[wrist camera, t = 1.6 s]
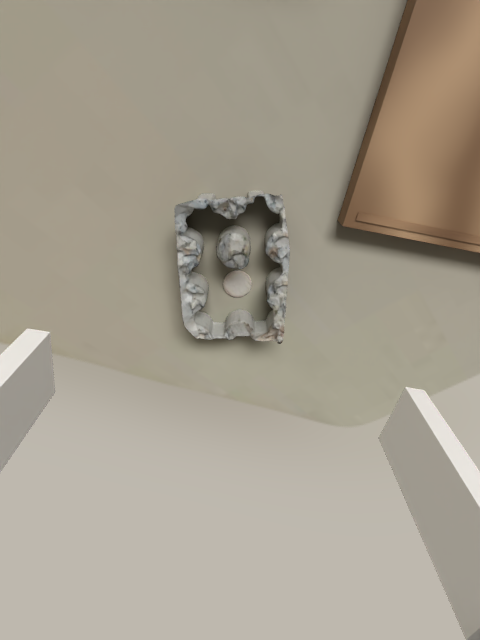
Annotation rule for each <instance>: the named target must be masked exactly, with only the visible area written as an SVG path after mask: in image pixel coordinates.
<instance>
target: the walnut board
mask: <svg viewBox="0 0 480 640" xmlns="http://www.w3.org/2000/svg"><path fill="white" fill-rule="evenodd" d="M338 222H339V223H340V224H341V225H342V226H345V227H351V228H356V229H361V230H366V231H371V232H376V233H381V234H386V235H391V236H397V237H402V238H407V239H412V240H417V241H422V242H427V243H432V244H437V245H442V246H448V247H453V248H458V249H463V250H468V251H473V252H478V253H480V0H408V1H407V4H406V7H405V10H404V13H403V16H402V20H401V23H400V26H399V29H398V32H397V35H396V38H395V42H394V45H393V48H392V51H391V54H390V57H389V60H388V64H387V67H386V70H385V73H384V76H383V79H382V82H381V86H380V89H379V92H378V95H377V98H376V101H375V104H374V108H373V111H372V114H371V117H370V120H369V123H368V126H367V130H366V133H365V136H364V139H363V142H362V145H361V148H360V152H359V155H358V158H357V161H356V164H355V167H354V170H353V174H352V177H351V180H350V183H349V186H348V189H347V192H346V195H345V199H344V202H343V205H342V208H341V211H340V214H339V217H338Z"/></svg>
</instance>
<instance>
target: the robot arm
mask: <svg viewBox="0 0 480 640" xmlns="http://www.w3.org/2000/svg"><path fill="white" fill-rule="evenodd" d="M54 393H55V385H54V372H53V361H52V348H51V336H50V332H46V331H40V330H33V329H26V330H25V331H24V332H23V333H22V334H21V335H20V336H19V337H18V338H17V339H16V340H15V341H14V342H13V343H12V344H11V345H10V346H9V347H8V348H7V349H6V350H5V351H4V352H3V353H2V354H1V355H0V472H1V471H2V469H3V468H4V466H5V465H6V463H7V462H8V460H9V459H10V458H11V456H12V455H13V453H14V452H15V450H16V449H17V447H18V446H19V444H20V443H21V441H22V440H23V439H24V437H25V436H26V434H27V433H28V431H29V430H30V428H31V427H32V425H33V424H34V423H35V421H36V420H37V418H38V417H39V415H40V414H41V412H42V411H43V409H44V408H45V406H46V405H47V404H48V402H49V401H50V399H51V398H52V396H53V395H54ZM379 440H380V442H381V445H382V447H383V450H384V452H385V454H386V457H387V459H388V461H389V463H390V465H391V468H392V470H393V472H394V475H395V477H396V479H397V482H398V484H399V486H400V489H401V491H402V493H403V496H404V498H405V500H406V503H407V505H408V507H409V509H410V512H411V514H412V516H413V519H414V521H415V523H416V526H417V528H418V530H419V533H420V535H421V537H422V539H423V542H424V544H425V546H426V548H427V551H428V553H429V556H430V558H431V560H432V562H433V565H434V567H435V569H436V572H437V574H438V576H439V578H440V581H441V583H442V585H443V588H444V590H445V592H446V595H447V597H448V599H449V602H450V604H451V606H452V609H453V611H454V613H455V615H456V618H457V620H458V622H459V625H460V627H461V629H462V632H463V634H464V636H465V638H466V640H480V471H479V470H478V468H477V467H476V465H475V464H474V463H473V461H472V460H471V458H470V457H469V455H468V454H467V452H466V451H465V449H464V448H463V446H462V445H461V443H460V442H459V441H458V439H457V438H456V436H455V435H454V433H453V432H452V430H451V429H450V428H449V426H448V424H447V423H446V421H445V420H444V419H443V417H442V416H441V414H440V413H439V411H438V410H437V408H436V407H435V405H434V404H433V402H432V401H431V399H430V398H429V397H428V395H427V394H426V392H425V391H424V390H420V389H414V388H407V387H405V389H404V391H403V392H402V394H401V396H400V398H399V400H398V402H397V404H396V406H395V408H394V409H393V411H392V413H391V415H390V417H389V419H388V421H387V423H386V425H385V427H384V429H383V430H382V432H381V434H380V436H379Z"/></svg>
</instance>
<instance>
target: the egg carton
mask: <svg viewBox="0 0 480 640" xmlns="http://www.w3.org/2000/svg"><path fill="white" fill-rule="evenodd" d="M256 196H263V197H264V198H265V201H266V204H267V206H268V208H269V209H270V210H271V211H272V212H274V213H276V214H279V216H280V222H279V223H276V224H274V225H272V226H271V227H270V228H269V229H268V230H267V231H266V235H265V247H266V255H268V256H269V257H270V258H271V259H272V260H273V261H275V262H277V263H280V267H279V268H276V269H274V270H272V271H271V272H270V273H269V275H268V276H267V278H266V288H267V296H268V297H267V302H268V304H269V305H270V307H271V308H273V310H272V311H270V313H269V314H268V316H267V319H266V320H265V321H254V319H253V317H252V315H251V314H250V313H249V312H248V311H246V310H242V309H239V310H235V311H232V312H230V313H229V314H228V316H227V318H226V322H224V323H221V322H213V320H212V318H211V317H210V316H209V315H208V314H207V313H204V312H200V311H199V310H200V309H202V308H203V307H204V306H205V303H206V300H207V295H208V289H209V285H208V282H207V280H206V278H205V277H204V276H203V275H201V274H199V273H196V272H192V268H194V267H195V266H196V267H197V265H198V264H199V262H200V258H201V255H202V252H203V249H204V240H203V237H202V235H201V234H200V233H199V232H198V231H196V230H195V229H193V228H189V227H187V224H186V218H187V217H188V216H190V215H191V214H192V212H193V210H194V209H205V208H206V207H207V206H208V205H210V207H211V209H212V211H213V212H214V213H218V214H221V215H223V216H224V217H225V218H227V219H236V218H237V216H238V215H239V214H240V213H243V212H244V211H245V209H246V206H247V204H251V203H254V199H255V197H256ZM175 231H176V238H177V251H178V273H179V281H180V292H181V306H182V316H183V322H184V326H185V327H186V329H187V330H188V331H189V332H190V333H191V334H192V335H193V336H194V337H195V338H197V339H209V340H212V339H214V338H226V339H228V340H231V339H234V338H235V336H251V338H252V339H253V340H256V341H278V342H277V343H279V344H281V343H282V341H283V336H284V323H285V312H286V296H287V284H288V269H289V256H290V248H289V239H288V231H287V224H286V217H285V207H284V205H283V198H282V195H279V196H273V195H271V194H264V193H263V191H250V192H248V195H247V198H246V197H240V196H239V197H233V198H231V199H227V198H221V199H216V198H215V195H214V194H212V193H209V194H200V195H199V196H198V198H197V199H196V200H193V201H188V202H185V203H182V204H178V205H176V207H175ZM216 250H217V257H218V258H219V259H220V261H221V262H222V263H223V264H224V265H225V266H226V267H229V268H238V269H243V268H245V267H246V266H247V264H248V262H249V255H250V251H251V246H250V237H249V234H248V233H247V231H246V230H245V229H244V228H242V227H241V226H237V225H233V226H229V227H227V228H225V229H224V230H223V231H222V232H221V233H220V236H219V239H218V243H217V246H216ZM251 286H252V282H251V278H250V276H249V275H248V274H247V273H245V272H244V271H241V270H234V271H231V272H230V273H228V274H227V275H226V276H225V278H224V281H223V288H224V290H225V292H226V293H227V294H229V295H230V296H232V297H243V296H244V295H246V294H247V293H248V292H249V291H250V290H251Z"/></svg>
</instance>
